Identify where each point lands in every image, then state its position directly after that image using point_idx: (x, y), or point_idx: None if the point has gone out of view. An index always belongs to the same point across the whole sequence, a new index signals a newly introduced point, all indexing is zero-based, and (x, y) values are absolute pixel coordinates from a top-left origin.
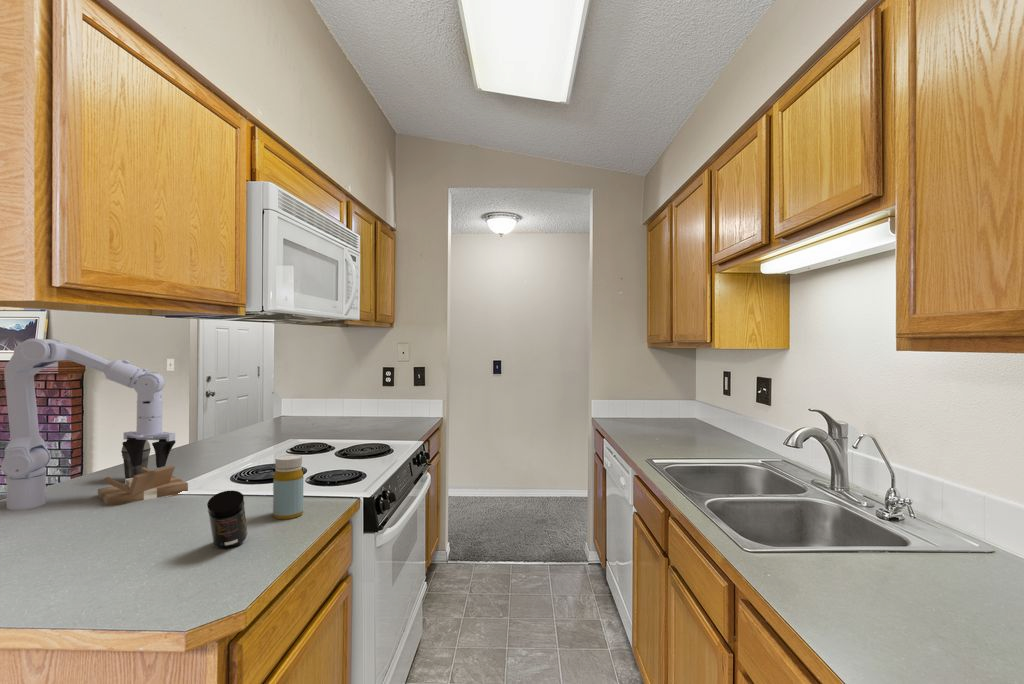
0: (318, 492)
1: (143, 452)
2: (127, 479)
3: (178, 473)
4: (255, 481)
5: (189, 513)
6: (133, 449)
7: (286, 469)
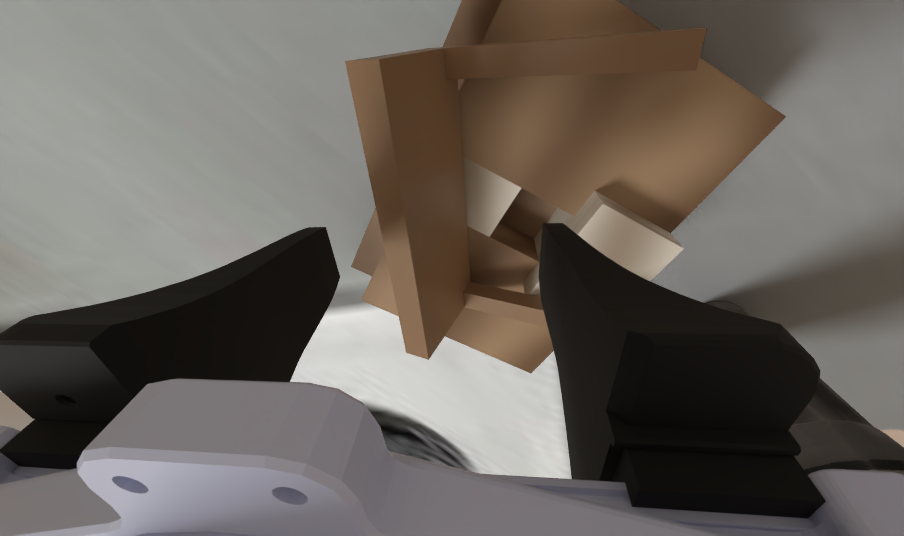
0: None
1: None
2: (660, 243)
3: None
4: None
5: (133, 77)
6: (583, 320)
7: None
